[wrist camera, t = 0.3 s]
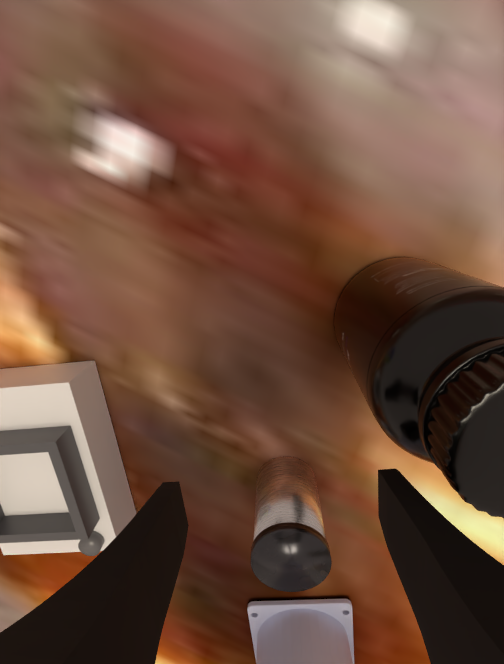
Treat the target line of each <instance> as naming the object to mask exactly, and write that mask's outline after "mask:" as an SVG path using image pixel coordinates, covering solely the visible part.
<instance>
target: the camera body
mask: <svg viewBox="0 0 504 664" xmlns="http://www.w3.org/2000/svg"><path fill="white" fill-rule="evenodd" d="M135 515H136V510H135V506H134V502H133V499H132V495H131V492H130V488H129V484H128V481H127V477H126V473H125V470H124V466H123V462H122V459H121V455H120V451H119V448H118V444H117V440H116V437H115V433H114V429H113V426H112V422H111V418H110V415H109V411H108V407H107V404H106V400H105V396H104V393H103V389H102V386H101V382H100V378H99V375H98V371H97V367H96V364H95V360H94V361H83V362H72V363H61V364H50V365H38V366H27V367H16V368H5V369H0V548H1V550H2V552H3V555H16V554H39V553H62V552H82V553H83V554H85V555H88V556H95V555H97V554H98V553H99V552H100V551H103V550H104V549H105V548H106V547H107V546H108V545H109V544H110V543H111V542H112V541H113V540H114V539H115V538H116V536H117V535H118V534H119V533H120V532H121V531H122V530H123V529H124V528H125V527H126V526H127V524H128V523H129V522H130V521H131V520H132V519H133V517H134V516H135Z"/></svg>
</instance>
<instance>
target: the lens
mask: <svg viewBox="0 0 504 664" xmlns="http://www.w3.org/2000/svg"><path fill="white" fill-rule="evenodd" d="M251 567H252V570H253V572H254V574H255V575H256V577H257V578H258V579H259V580H260V581H261V582H263V583H264V584H266V585H267V586H269V587H271V588H274V589H277V590H281V591H287V592H297V591H304V590H307V589H310V588H313V587H315V586H317V585H318V584H320V583H321V582H322V581H323V580H324V579H325V578H326V577H327V575H328V574H329V572H330V569H331V556H330V550H329V546H328V543H327V541H326V538H325V532H324V526H323V520H322V514H321V508H320V502H319V496H318V490H317V484H316V478H315V474H314V472H313V470H312V468H311V467H310V466H309V465H308V464H307V463H305V462H304V461H302V460H300V459H297V458H294V457H278V458H275V459H272V460H270V461H268V462H267V463H265V464H264V465H263V466H262V467H261V469H260V470H259V472H258V475H257V486H256V505H255V525H254V541H253V544H252V549H251Z"/></svg>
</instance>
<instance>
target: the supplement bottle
mask: <svg viewBox="0 0 504 664" xmlns="http://www.w3.org/2000/svg"><path fill="white" fill-rule="evenodd" d="M334 328H335V334H336V338H337V341H338V344H339V346H340V348H341V350H342V352H343V355H344V357H345V359H346V361H347V363H348V365H349V367H350V369H351V371H352V373H353V375H354V377H355V379H356V381H357V383H358V385H359V387H360V389H361V391H362V393H363V395H364V397H365V399H366V401H367V403H368V405H369V407H370V409H371V411H372V413H373V415H374V417H375V418H376V420H377V422H378V423H379V425H380V426H381V428H382V429H383V431H384V432H385V433H386V435H387V436H388V437H389V438H390V439H391V440H392V441H393V442H394V443H395V444H397V445H398V446H399V447H400V448H402V449H403V450H405V451H406V452H408V453H410V454H412V455H414V456H416V457H418V458H420V459H422V460H425V461H428V462H431V463H434V464H435V465H436V466H437V467H438V468H439V469H440V470H441V471H442V473H443V474H444V476H445V477H446V479H447V480H448V482H449V483H450V485H451V486H452V488H453V489H454V490H456V491H457V492H458V494H459V495H460V497H461V498H462V499H463V500H464V501H465V502H467V503H469V504H472V505H473V506H474V507H475V508H476V509H477V510H478V511H484V512H487V513H488V514H489V515H491V516H495V517H497V516H498V517H502V518H504V287H501V286H498V285H495V284H492V283H489V282H486V281H484V280H481V279H478V278H475V277H472V276H469V275H466V274H463V273H460V272H457V271H455V270H452V269H449V268H446V267H443V266H440V265H437V264H434V263H431V262H428V261H425V260H421V259H416V258H408V257H399V258H391V259H386V260H383V261H380V262H377V263H375V264H373V265H371V266H369V267H367V268H366V269H364V270H363V271H361V272H360V273H359V274H357V275H356V276H355V277H354V278H353V279H352V280H351V281H350V282H349V284H348V285H347V286H346V287H345V289H344V291H343V292H342V294H341V296H340V298H339V300H338V303H337V306H336V310H335V315H334Z"/></svg>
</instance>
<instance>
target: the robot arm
mask: <svg viewBox="0 0 504 664" xmlns="http://www.w3.org/2000/svg"><path fill="white" fill-rule="evenodd" d="M378 503H379V519H380V523H381V526H382V530H383V534H384V537H385V541H386V544H387V547H388V550H389V552H390V555H391V557H392V560H393V562H394V565H395V567H396V570H397V572H398V575H399V577H400V580H401V582H402V585H403V587H404V590H405V592H406V595H407V597H408V599H409V602H410V604H411V607H412V609H413V612H414V614H415V617H416V620H417V622H418V625H419V628H420V631H421V633H422V636H423V640H424V643H425V646H426V649H427V652H428V656H429V659H430V662H431V664H504V565H502V564H501V563H500V562H498V561H497V560H495V559H494V558H493V557H492V556H490V555H489V554H488V553H486V552H485V551H484V550H482V549H481V548H480V547H478V546H477V545H476V544H475V543H474V542H472V541H471V540H470V539H469V538H467V537H466V536H465V535H464V534H463V533H462V532H460V531H459V530H458V529H457V528H456V527H455V526H454V525H452V524H451V523H450V522H449V521H448V520H447V519H446V518H445V517H444V516H443V515H442V514H441V513H439V512H438V511H437V510H436V509H435V508H434V507H433V506H432V505H431V504H430V503H429V502H428V501H427V500H426V499H425V498H424V497H423V496H422V495H421V494H420V493H419V492H418V491H417V490H416V489H415V488H414V487H413V486H412V485H411V484H410V483H409V482H408V480H407V479H406V478H405V477H404V476H403V475H402V474H401V473H400V472H399V471H398V470H397V469H384V470H378ZM187 531H188V521H187V517H186V512H185V507H184V503H183V498H182V493H181V488H180V484H179V482H165V483H162V484H161V486H160V487H159V488H158V489H157V490H156V491H155V493H154V494H153V495H152V496H151V497H150V499H149V500H148V501H147V502H146V503H145V505H144V506H143V507H142V508H141V509H140V511H139V512H138V513H137V514H136V515H135V516H134V517H133V519H132V520H131V521H130V522H129V523H128V524H127V526H126V527H125V528H124V529H123V530H122V531H121V532H120V533H119V534H118V535H117V536H116V538H115V539H114V540H113V541H112V542H111V543H110V544H109V545H108V546H107V547H106V548H105V549H104V550H103V551H102V552H101V553H100V554H99V555H98V556H97V557H96V558H95V559H94V560H93V561H92V562H91V563H90V564H89V565H87V566H86V567H85V568H84V569H83V570H82V571H81V572H80V573H79V574H77V575H76V576H75V577H74V578H73V579H72V580H70V581H69V582H68V583H67V584H65V585H64V586H63V587H62V588H61V589H59V590H58V591H57V592H56V593H54V594H53V595H52V596H51V597H49V598H48V599H47V600H46V601H44V602H43V603H42V604H40V605H39V606H38V607H36V608H35V609H34V610H32V611H31V612H30V613H28V614H27V615H25V616H24V617H23V618H21V619H20V620H18V621H17V622H15V623H14V624H13V625H11V626H10V627H8V628H7V629H5V630H4V631H2V632H1V633H0V664H155V660H156V655H157V650H158V645H159V640H160V636H161V632H162V628H163V624H164V621H165V617H166V614H167V610H168V607H169V604H170V600H171V597H172V593H173V590H174V586H175V583H176V579H177V576H178V572H179V569H180V565H181V562H182V558H183V554H184V549H185V543H186V537H187ZM247 611H248V617H249V623H250V629H251V635H252V641H253V647H254V652H255V658H256V664H354V641H353V615H352V604H351V601H350V600H348V599H312V600H279V601H252V602H250V603H249V604H248V608H247Z"/></svg>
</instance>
